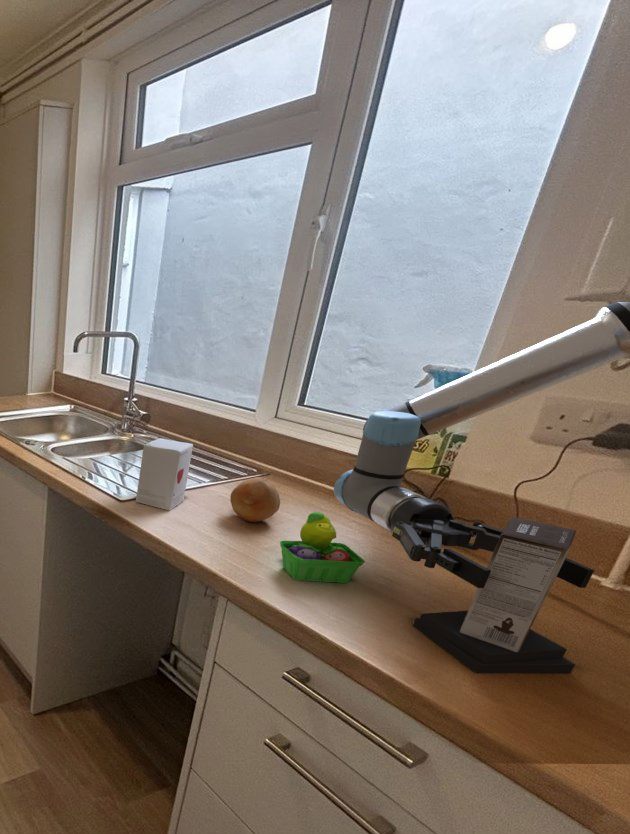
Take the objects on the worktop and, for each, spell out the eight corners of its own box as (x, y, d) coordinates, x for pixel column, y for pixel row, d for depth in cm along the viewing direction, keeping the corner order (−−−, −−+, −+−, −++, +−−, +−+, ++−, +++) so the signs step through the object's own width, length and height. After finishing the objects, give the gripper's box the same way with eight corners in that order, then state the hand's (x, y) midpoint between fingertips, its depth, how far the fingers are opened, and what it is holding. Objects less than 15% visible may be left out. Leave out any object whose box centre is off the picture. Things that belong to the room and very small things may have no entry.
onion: (224, 509, 127) (232, 469, 123) (270, 514, 124) (280, 474, 120) (229, 524, 118) (237, 483, 115) (279, 530, 115) (289, 488, 111)
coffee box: (470, 609, 81) (511, 514, 75) (528, 628, 77) (577, 529, 71) (457, 633, 76) (500, 532, 70) (519, 654, 71) (571, 549, 65)
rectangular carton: (170, 511, 126) (179, 451, 120) (134, 502, 131) (142, 444, 126) (184, 501, 132) (194, 443, 126) (150, 492, 137) (158, 437, 132)
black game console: (494, 624, 83) (501, 608, 81) (570, 673, 72) (580, 655, 71) (408, 624, 83) (414, 608, 82) (472, 673, 72) (480, 655, 71)
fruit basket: (290, 583, 95) (305, 526, 90) (270, 560, 103) (283, 507, 98) (359, 587, 93) (378, 530, 89) (333, 564, 101) (349, 510, 97)
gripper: (476, 535, 92) (616, 602, 72) (332, 536, 92) (432, 603, 72) (492, 495, 89) (643, 554, 69) (343, 496, 89) (451, 554, 69)
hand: (536, 579), depth 71 cm, fingers open, 13 cm apart
